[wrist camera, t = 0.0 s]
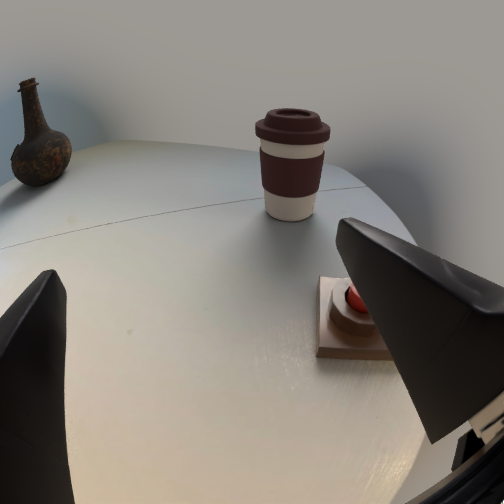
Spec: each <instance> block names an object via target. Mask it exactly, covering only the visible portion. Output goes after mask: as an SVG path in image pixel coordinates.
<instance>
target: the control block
mask: <svg viewBox="0 0 504 504" xmlns="http://www.w3.org/2000/svg"><path fill="white" fill-rule="evenodd" d="M351 282H352V281H351V279H350V277H347V278H334V277H322V276H319V280H318V286H317V338H316V357H321V358H338V359H363V360H393V359H392V357H391V355H390V353H389V351H388V349H387V347H386V345H385V343H384V341H383V339H382V337H381V335H380V333H379V331H378V329H377V327H376V326H375V324H374V322H373V320H372V318H371V316H370V314H369V313H368V314H364V313H360V312H357V311H355V310H354V309H352V308H351V307H350V305H349V304H348V301H347V295H348V292H349V289H350V285H351Z"/></svg>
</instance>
